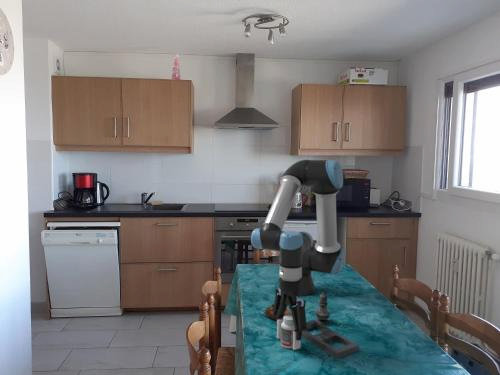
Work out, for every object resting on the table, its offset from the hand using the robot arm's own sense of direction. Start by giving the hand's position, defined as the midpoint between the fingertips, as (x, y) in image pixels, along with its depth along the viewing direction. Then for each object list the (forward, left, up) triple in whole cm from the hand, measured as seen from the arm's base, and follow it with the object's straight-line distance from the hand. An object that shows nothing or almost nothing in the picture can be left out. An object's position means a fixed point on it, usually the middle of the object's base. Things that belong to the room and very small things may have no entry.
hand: (288, 342), depth 129 cm
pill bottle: (0, 0, -1) cm, 1 cm away
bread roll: (-21, +11, -1) cm, 24 cm away
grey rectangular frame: (+4, +13, -1) cm, 14 cm away
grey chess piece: (-8, +23, -1) cm, 24 cm away
